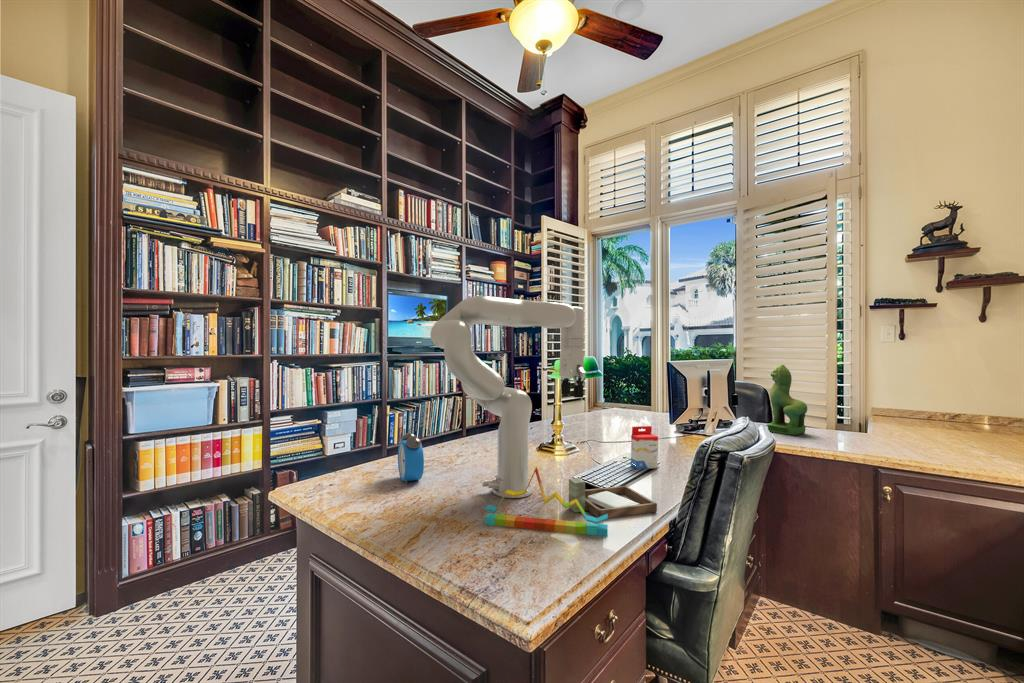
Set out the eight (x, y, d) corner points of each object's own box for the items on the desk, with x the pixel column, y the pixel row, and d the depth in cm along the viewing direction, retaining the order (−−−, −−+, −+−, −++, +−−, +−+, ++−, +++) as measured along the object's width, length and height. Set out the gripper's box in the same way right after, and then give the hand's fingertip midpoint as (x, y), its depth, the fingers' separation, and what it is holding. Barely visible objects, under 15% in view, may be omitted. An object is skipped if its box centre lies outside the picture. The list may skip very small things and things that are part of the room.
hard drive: (587, 495, 130) (620, 509, 120) (607, 490, 135) (640, 502, 125) (587, 501, 130) (620, 515, 120) (607, 495, 135) (640, 508, 125)
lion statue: (775, 428, 241) (776, 363, 241) (810, 434, 228) (811, 365, 227) (763, 431, 233) (764, 364, 233) (798, 437, 220) (799, 365, 219)
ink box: (636, 469, 163) (637, 429, 163) (630, 465, 168) (630, 426, 168) (658, 468, 165) (658, 428, 165) (651, 464, 170) (651, 425, 170)
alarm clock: (397, 475, 153) (397, 431, 153) (415, 473, 156) (415, 430, 156) (405, 487, 141) (405, 439, 141) (424, 484, 144) (425, 438, 144)
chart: (607, 531, 111) (608, 471, 111) (607, 537, 108) (608, 475, 108) (488, 520, 117) (488, 462, 117) (485, 525, 114) (485, 466, 114)
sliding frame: (584, 520, 116) (584, 490, 116) (560, 500, 131) (560, 472, 131) (656, 511, 123) (657, 482, 123) (625, 492, 137) (625, 466, 137)
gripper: (551, 343, 156) (551, 392, 157) (573, 344, 140) (572, 399, 140) (571, 343, 159) (571, 392, 159) (594, 344, 142) (594, 398, 142)
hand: (571, 395), depth 149 cm, fingers open, 9 cm apart
